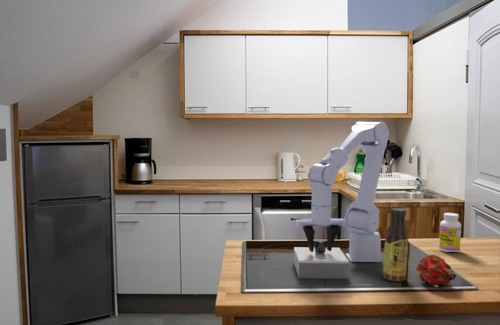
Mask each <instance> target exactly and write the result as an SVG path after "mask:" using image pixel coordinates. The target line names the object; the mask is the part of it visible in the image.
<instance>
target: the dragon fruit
mask: <svg viewBox="0 0 500 325" xmlns="http://www.w3.org/2000/svg"><path fill="white" fill-rule="evenodd" d="M415 269H416V272H419V277H420V280H421V282H422V283H424V282H426V281H427V282H428V284H429V285H431V286H432V285H438V284H439V286H438V287H441V286H440V285H446V286H449V285H450V284H451V283H452V281H453V280H455V279H456V277H457V274H456V273H455V271H454V270H453V269H452V266H451V265H449V264H448V263H447V262H446V260H445V259H444V258H442V257H440V256H438V255H437V254H429V255H428V254H427V256H424V257H423V258H421V259H420V260H419V263H418V264H417V267H416V268H415Z"/></svg>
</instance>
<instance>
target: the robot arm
mask: <svg viewBox="0 0 500 325" xmlns="http://www.w3.org/2000/svg"><path fill="white" fill-rule="evenodd" d="M387 125H388V124H386V123H385V121H356V123H355V124H354V125H353V126H351V132H350V133H349V135H348V136H347V137H346V138H345V140H344V141H343V142H342V143H341V145H340V146H339V147H334V148H333V147H332V148H330V150H329V152H328V153H327V154H326V156H324V157H323V158H322V159H321V160H320V161H319V163H315V164H312V165H311V167H310V168H309V170H308V173H307V178H308V181H309V183H310V184H309V187H310V188H311V207H310V208H311V212H310V214H311V215H310V217H311V218H303V219H301V218H300V219H296V220H295V227H296V228H298V229H299V228H300V229H301V228H302V230H303V232H304V234H305V238H306V240H307V244H308V247H309V250H310V251H311V252H313V251H314V247H315V232H316V231H315V229H314V228H316V227H326V248H327V250H328V251H331V250H332V248H333V245H334V242H335V240H336V238H337V236H338V234H339V232H340V227H347V230H348V231H349V244H348V245H349V246H348V247H349V253H345V256H346V258H347V259H348V261H349V262H352V263H357V262H358V263H366V262H367V263H381V249H382V246H381V245H382V239H381V235H380V232H378V231H377V230H378V229H379V226H380V209H379V208H378V207H377V206H376V205H375V197H376V193H377V192H376V191H377V190H378V189H377V188H378V184H379V179H380V173H381V169H382V165H383V159H384V155H385V150H387V145H388V142H389V141H388V140H389V136H390V130H389V128H388V126H387ZM359 146H360V147H361V148H362V149H364V151H365V152H366V155H365V158H364V159H365V160H364V164H363V170H362V173H361V178H360V182H359V183H360V184H359V187H358V193H357V197H356V200H354V201H352V202H351V203H350V204H349V205H348V209H347V211H346V213H345V215H344V218H332V193H333V192H332V189H333V188H332V186H333V184H334V183H336V180H337V176H338V174H339V171H340V170H341V169H342V168H343V167H344V166H345V165H346V163H347V162H348V161H349V155H350V154H351V153H353V151H354V150H356V149H357V148H358V147H359Z"/></svg>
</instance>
